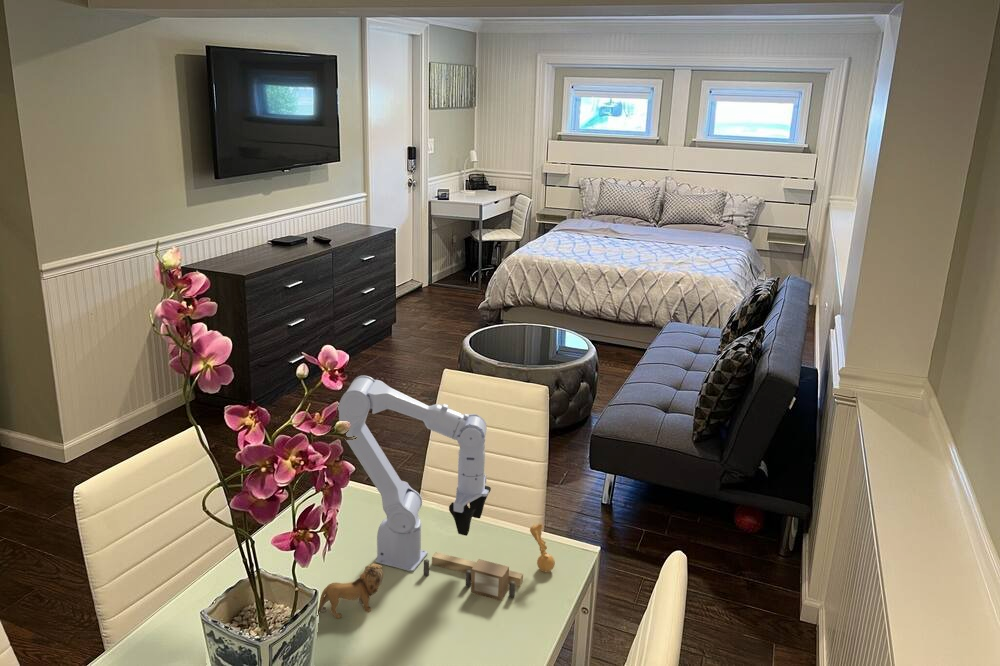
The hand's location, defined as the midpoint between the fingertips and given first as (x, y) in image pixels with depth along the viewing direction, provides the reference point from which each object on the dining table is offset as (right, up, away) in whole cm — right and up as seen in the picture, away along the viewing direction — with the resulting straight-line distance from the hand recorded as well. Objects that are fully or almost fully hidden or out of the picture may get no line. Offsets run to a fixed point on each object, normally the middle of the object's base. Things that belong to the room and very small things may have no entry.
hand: (469, 525), depth 174 cm
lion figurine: (-24, -14, -13) cm, 31 cm away
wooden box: (+5, -13, -6) cm, 15 cm away
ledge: (+1, -11, -2) cm, 11 cm away
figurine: (+16, -11, +2) cm, 19 cm away
